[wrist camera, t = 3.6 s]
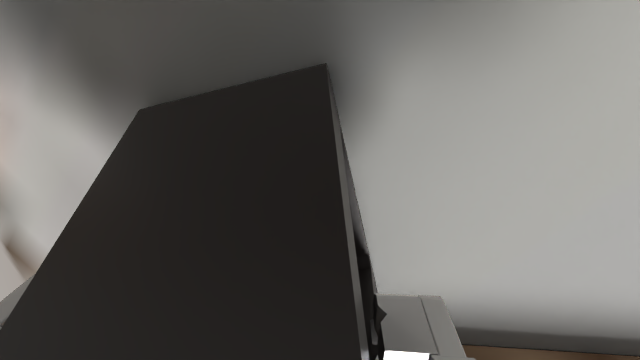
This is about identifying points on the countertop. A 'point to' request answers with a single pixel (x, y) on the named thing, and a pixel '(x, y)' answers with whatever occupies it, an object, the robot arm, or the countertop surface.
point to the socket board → (534, 354)
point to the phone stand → (211, 239)
